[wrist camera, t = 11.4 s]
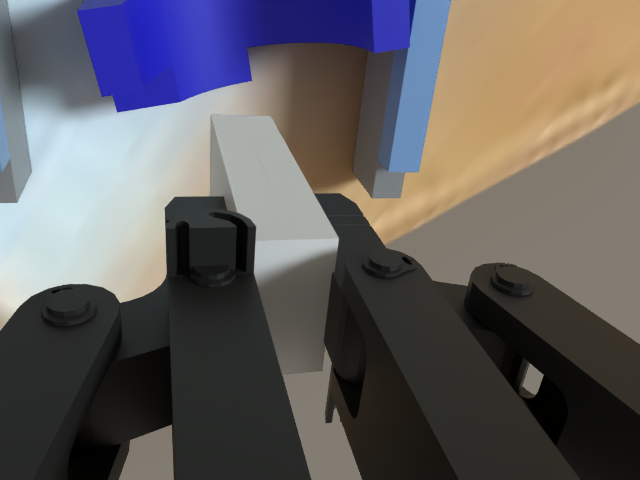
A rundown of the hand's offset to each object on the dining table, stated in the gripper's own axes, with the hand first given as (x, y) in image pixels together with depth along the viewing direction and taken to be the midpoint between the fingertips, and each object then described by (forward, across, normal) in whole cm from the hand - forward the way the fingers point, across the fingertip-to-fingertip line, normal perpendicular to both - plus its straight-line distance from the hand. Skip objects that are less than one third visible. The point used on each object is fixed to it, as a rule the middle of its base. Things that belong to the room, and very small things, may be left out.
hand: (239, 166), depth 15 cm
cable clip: (+15, +2, +1) cm, 15 cm away
